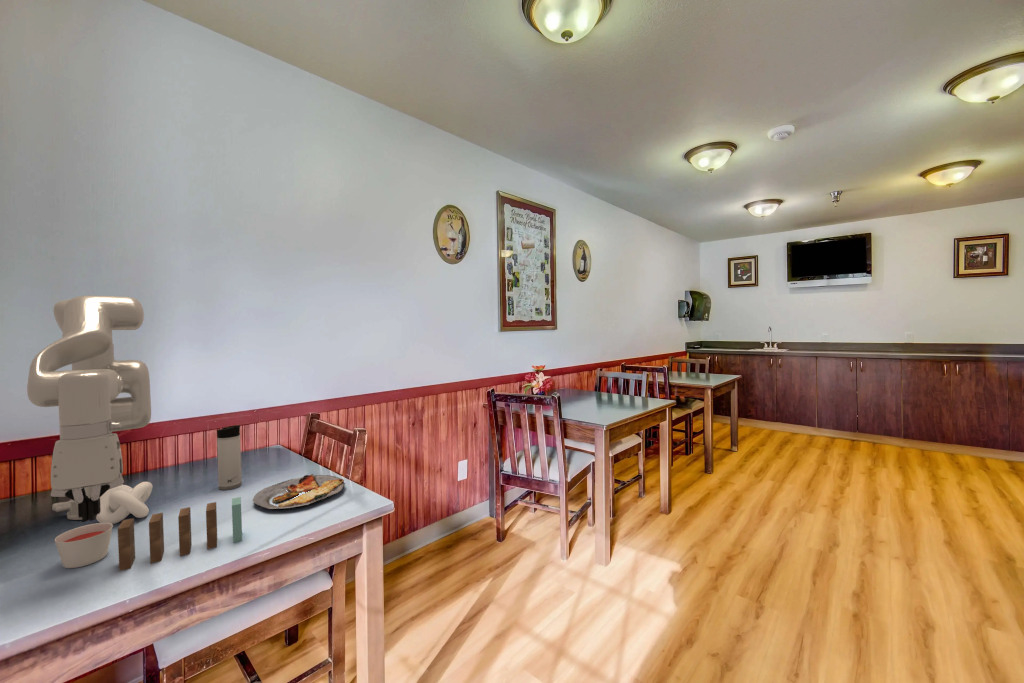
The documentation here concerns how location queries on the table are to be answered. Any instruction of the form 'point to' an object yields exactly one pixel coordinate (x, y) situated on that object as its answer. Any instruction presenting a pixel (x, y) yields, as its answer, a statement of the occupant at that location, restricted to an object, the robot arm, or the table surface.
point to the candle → (84, 544)
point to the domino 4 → (211, 525)
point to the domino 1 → (126, 544)
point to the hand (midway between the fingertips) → (89, 518)
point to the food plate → (299, 491)
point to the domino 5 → (236, 519)
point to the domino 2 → (156, 537)
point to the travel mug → (229, 457)
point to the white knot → (124, 502)
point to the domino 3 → (184, 531)
